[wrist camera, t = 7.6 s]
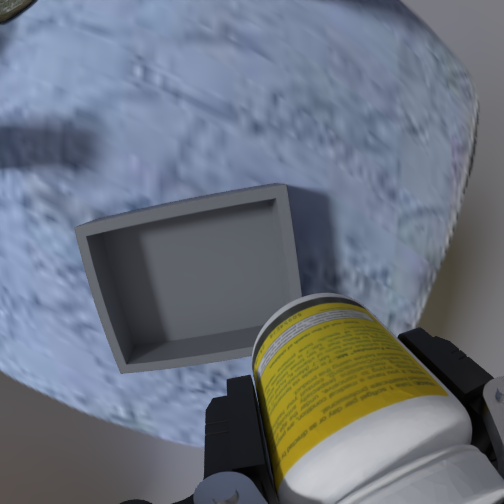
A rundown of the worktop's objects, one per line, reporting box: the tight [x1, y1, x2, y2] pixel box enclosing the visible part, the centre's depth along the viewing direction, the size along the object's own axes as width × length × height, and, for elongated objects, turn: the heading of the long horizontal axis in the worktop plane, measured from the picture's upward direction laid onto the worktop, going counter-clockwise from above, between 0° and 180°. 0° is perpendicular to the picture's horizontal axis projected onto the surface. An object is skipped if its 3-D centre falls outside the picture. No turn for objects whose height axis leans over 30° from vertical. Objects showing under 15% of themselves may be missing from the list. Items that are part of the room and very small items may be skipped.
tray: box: [74, 183, 302, 374], centre depth 24 cm, size 12×15×4 cm
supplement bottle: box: [252, 293, 504, 504], centre depth 7 cm, size 5×5×8 cm
